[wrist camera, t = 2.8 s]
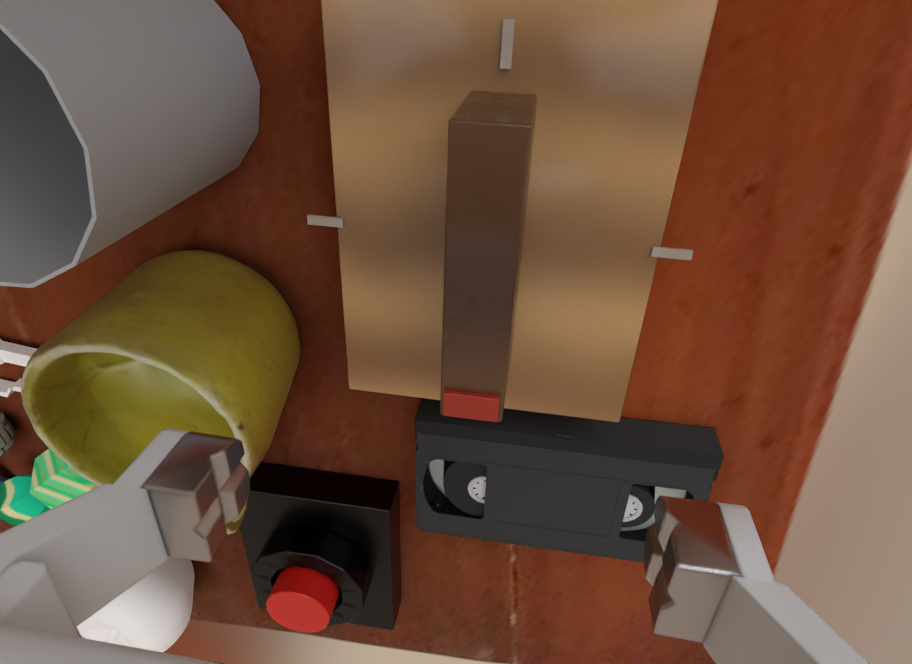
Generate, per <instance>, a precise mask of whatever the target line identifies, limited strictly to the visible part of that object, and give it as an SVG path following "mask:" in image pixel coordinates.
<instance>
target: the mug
mask: <svg viewBox="0 0 912 664" xmlns="http://www.w3.org/2000/svg"><path fill="white" fill-rule="evenodd" d="M300 353H301V346H300V340H299V334H298V329H297V324H296V321H295V318H294V316H293V314H292V312H291V310H290V308H289V306H288V305H287V303H286V302H285V300H284V298H283V297H282V296H281V294H280V293H279V292H278V290H277V289H276V288H275V287H274V286H273V285H272V284H271V283H270V282H269V281H268V280H267V279H266V278H265V277H264V276H262V275H261V274H260V273H259V272H257V271H255V270H253V269H251V268H249V267H247V266H245V265H243V264H241V263H239V262H237V261H236V260H233V259H231V258H228V257H226V256H224V255H221V254H219V253H215V252H211V251H204V250H179V251H174V252H169V253H166V254H163V255H160V256H158V257H155V258H153V259H150V260H148V261H146V262H144V263H143V264H141V265H140V266H139V267H137V268H136V269H134V270H133V271H132V272H130V273H129V274H128V275H127V276H126V277H125V278H124V279H123V280H122V281H121V282H120V283H119V284H118V285H117V286H116V287H115V288H114V289H113V290H111V291H110V292H109V293H107V294H106V295H104V296H103V297H101V298H100V299H99V300H98V301H96V302H95V303H94V304H93V305H91V306H90V307H89V308H87V309H86V310H84V311H83V312H82V313H81V314H80V315H79V316H78V317H76V318H75V319H74V320H73V321H72V322H71V323H70V324H68V325H67V326H66V327H65V328H63V329H62V330H61V331H59V332H58V333H57V334H56V335H54V336H53V337H52V338H51V339H49V340H48V341H46V342H45V343H44V344H42V345H41V346H40V347H39V348H38V349H37V350H36V351H35V352H34V353H33V354H32V356H31V358H30V359H29V361H28V363H27V365H26V368H25V370H24V372H23V376H22V382H21V396H22V401H23V406H24V408H25V410H26V412H27V414H28V417H29V419H30V421H31V423H32V425H33V427H34V430H35V432H36V434H37V435H38V436H39V437H40V438H41V440H42V441H43V442H44V443H45V444H46V446H48V447H49V448H50V449H51V450H52V451H53V452H54V453H55V454H56V455H57V456H58V457H59V458H61V459H62V460H63V461H64V462H66V463H67V464H68V465H69V466H70V467H71V468H72V469H73V470H74V471H75V472H77V473H78V474H80V475H81V476H83V477H84V478H85V479H87V480H89V481H91V482H93V483H94V484H96V485H98V486H101V485H103V484H105V483H109V484H114V482H115V481H116V480H117V479H118V478H119V477H120V476H121V475H122V474H123V472H124V471H125V470H126V469H127V468H128V467H129V466H130V465H131V464H132V462H133V461H134V460H135V459H136V458H137V457H138V456H139V455H140V454H141V452H142V451H143V450H144V449H145V448H146V447H147V446H148V445H149V444H150V442H151V441H152V440H153V439H154V438H155V437H156V436H157V435H158V434H159V432H161V431H162V430H165V429H167V428H173V429H179V430H184V431H190V432H191V431H194V432H200V433H207V434H213V435H219V436H225V437H231V438H237V439H239V440H241V441H242V444H243V448H244V452H245V454H244V456H243V457H242V459H241V460H240V462H241V463H242V464H243V465H244V466H245V467H246V468H247V470H248V472H249V478H250V477H251V476H252V475H253V473H254V471H255V470H256V468H257V467H258V465H259V463H260V462H261V460H262V459H263V457H264V455H265V454H266V452H267V450H268V449H269V446H270V444H271V442H272V439H273V437H274V434H275V431H276V428H277V425H278V422H279V419H280V416H281V413H282V410H283V407H284V405H285V402H286V399H287V396H288V394H289V391H290V388H291V384H292V381H293V378H294V375H295V373H296V370H297V367H298V364H299V360H300ZM249 492H250V486H249ZM248 495H249V493H248ZM247 500H248V497H247ZM247 500H246V503H245V506H244V508H243V509H242V511H241V513H240V515H239V516H238V517H237V518H235V519H234V520H232V521H230V522H229V523H227V524H225V525H226V530H227V535H228V534H231V533H234V532H236V531H237V529H238V528H239V526H240V525H241V522H242V520H243V517H244V515H245V512H246V509H247Z"/></svg>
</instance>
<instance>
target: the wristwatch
mask: <svg viewBox="0 0 912 664" xmlns="http://www.w3.org/2000/svg"><path fill="white" fill-rule="evenodd" d="M17 436H18V435H17V433H16V432H15V430H14V426H13V425H12V423H11V422H10V420H9V419H8V418H6V417H5V415H4V413H3V412H0V456H1V455H2V454H3V453H5V452H6V451H7V450H8V449H9V448H10V447H11V446H12V445H13V443H14V442H15V439H16V438H17Z"/></svg>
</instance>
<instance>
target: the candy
mask: <svg viewBox="0 0 912 664" xmlns="http://www.w3.org/2000/svg"><path fill="white" fill-rule="evenodd" d="M97 487H99V486H98V485H96V484H94V483H93V482H91V481H89V480H87V479H85V478H84V477H83V476H81V475H80V474H78V473H77V472H75V471H74V470H73V469H72V468H71V467H70V466H69V465H68V464H67V463H66V462H64V461H63V460H62V459H61V458H59V457H58V456H57V455H56V454H55V453H54V452H53V451H52V450H51V449H50V448H49V449H47V450H46V451H45V452H43V453H42V454H40V455H39V456H38V457H36V458H35V461H34V467H33V473H32V474H27V475H21V476H16V477H13V478H11V479H9V480H7V481H5V482H3V483H1V484H0V519H2V520H4V521H5V522H7V523H9V524H11V525H12V526H14V527H15V526H17V525H19V524H21V523H23V522H25V521H27V520H29V519H32V518H34V517H36V516H38V515H40V514H42V513H44V512H46V511H48V510H50V509H53V508H55V507H57V506H59V505H61V504H63V503H65V502H67V501H69V500H71V499H74V498H76V497H78V496H80V495H82V494H84V493H86V492H88V491H90V490H92V489H95V488H97Z"/></svg>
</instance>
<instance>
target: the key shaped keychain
mask: <svg viewBox="0 0 912 664" xmlns="http://www.w3.org/2000/svg"><path fill="white" fill-rule="evenodd" d="M36 350H37V349H36V348H32V347H27V346H23V345H18V344H14V343H10V342H5V341H3V340H2V339H0V364H3V363H4V362H7V363H11V364H16V365H20V366H25V367H26V365H27V363H28V361H29V359H30V358H31V356H32V354H33V353H34V352H35V351H36ZM21 382H22V379H21V378H20V379H19V380H17V381H16V382H12V381H8V380H3V379H0V396H3V397H8V396H10V395H11V394H12V393H13V392H14V391H18V392H21Z"/></svg>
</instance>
